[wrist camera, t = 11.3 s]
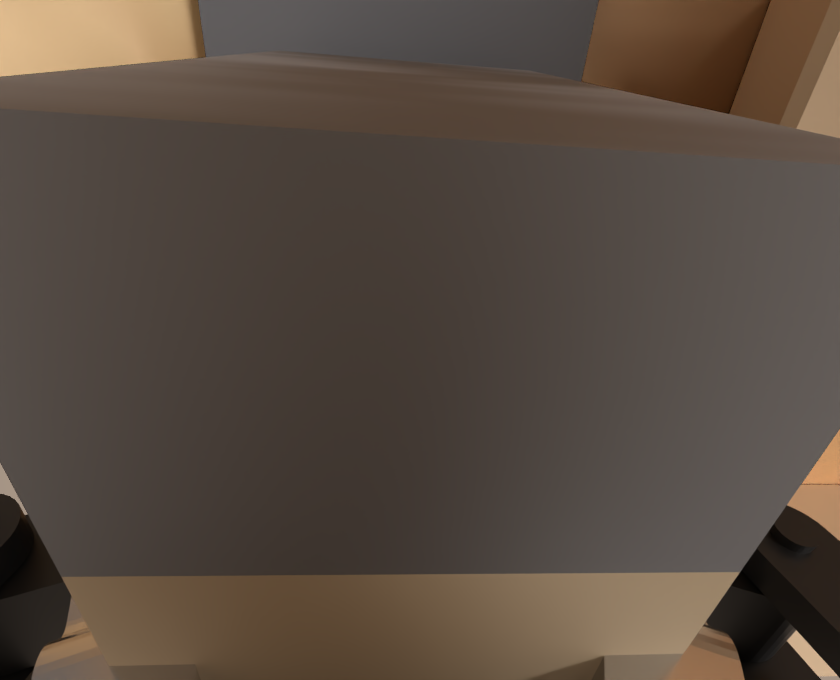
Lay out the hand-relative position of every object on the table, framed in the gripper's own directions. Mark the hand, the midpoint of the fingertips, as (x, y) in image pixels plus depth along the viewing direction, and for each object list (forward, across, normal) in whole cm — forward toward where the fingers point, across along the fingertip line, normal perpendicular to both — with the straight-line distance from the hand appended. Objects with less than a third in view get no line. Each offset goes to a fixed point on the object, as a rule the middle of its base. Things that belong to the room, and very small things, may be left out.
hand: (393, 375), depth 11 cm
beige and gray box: (+2, 0, 0) cm, 2 cm away
